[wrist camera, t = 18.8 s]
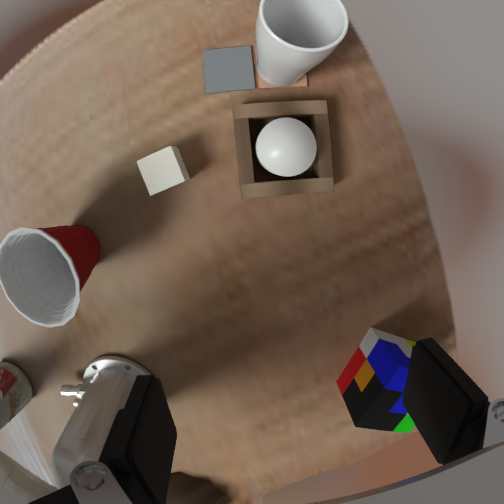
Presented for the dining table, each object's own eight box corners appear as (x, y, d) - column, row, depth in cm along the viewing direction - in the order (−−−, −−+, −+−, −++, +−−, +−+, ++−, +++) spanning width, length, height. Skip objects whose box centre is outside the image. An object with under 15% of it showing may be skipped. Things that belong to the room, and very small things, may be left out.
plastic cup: (56, 288, 39) (9, 327, 27) (43, 210, 36) (-14, 230, 24) (124, 288, 39) (88, 334, 28) (114, 204, 36) (67, 223, 25)
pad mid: (206, 94, 33) (206, 93, 33) (202, 51, 32) (202, 50, 32) (255, 89, 33) (255, 88, 33) (250, 46, 32) (250, 45, 32)
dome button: (257, 177, 36) (259, 179, 32) (252, 124, 34) (254, 119, 30) (310, 173, 36) (319, 174, 32) (305, 121, 34) (313, 116, 30)
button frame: (241, 196, 37) (241, 198, 34) (232, 109, 34) (232, 105, 31) (326, 188, 37) (334, 191, 34) (319, 104, 34) (326, 100, 31)
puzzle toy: (370, 326, 42) (399, 366, 33) (418, 342, 44) (450, 379, 34) (336, 381, 45) (355, 426, 35) (385, 392, 46) (408, 432, 37)
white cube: (159, 192, 36) (150, 196, 32) (146, 161, 35) (136, 161, 31) (190, 179, 36) (184, 181, 32) (177, 147, 35) (170, 145, 31)
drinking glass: (305, 98, 34) (348, 61, 19) (246, 90, 33) (253, 44, 19) (310, 46, 32) (351, -11, 17) (252, 38, 31) (262, -28, 17)
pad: (259, 88, 33) (259, 88, 33) (254, 46, 32) (254, 45, 32) (307, 86, 34) (307, 86, 33) (301, 45, 32) (301, 44, 32)
